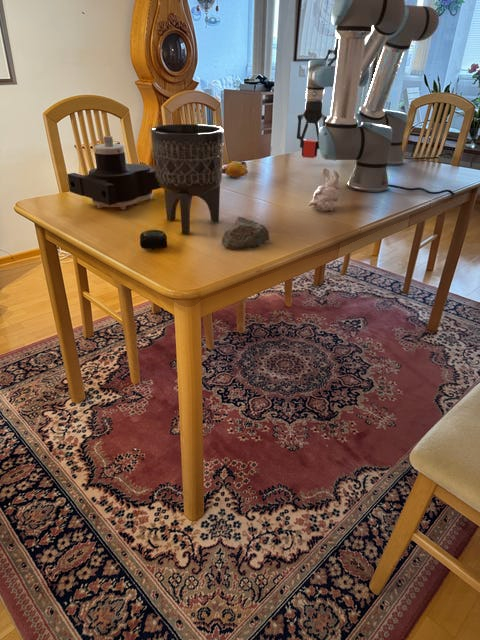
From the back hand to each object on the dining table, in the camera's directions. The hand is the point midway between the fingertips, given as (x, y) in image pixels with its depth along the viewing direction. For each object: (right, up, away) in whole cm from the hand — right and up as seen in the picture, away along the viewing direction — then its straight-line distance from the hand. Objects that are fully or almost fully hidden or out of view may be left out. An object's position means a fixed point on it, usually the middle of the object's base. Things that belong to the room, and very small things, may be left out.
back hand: (338, 87), depth 231 cm
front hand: (-18, -43, -21) cm, 51 cm away
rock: (-48, -99, -110) cm, 155 cm away
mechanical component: (-88, -78, -76) cm, 141 cm away
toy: (-52, -58, -40) cm, 88 cm away
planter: (-65, -91, -97) cm, 148 cm away
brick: (-18, -43, -21) cm, 51 cm away
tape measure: (-72, -101, -114) cm, 168 cm away
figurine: (-22, -82, -80) cm, 117 cm away
